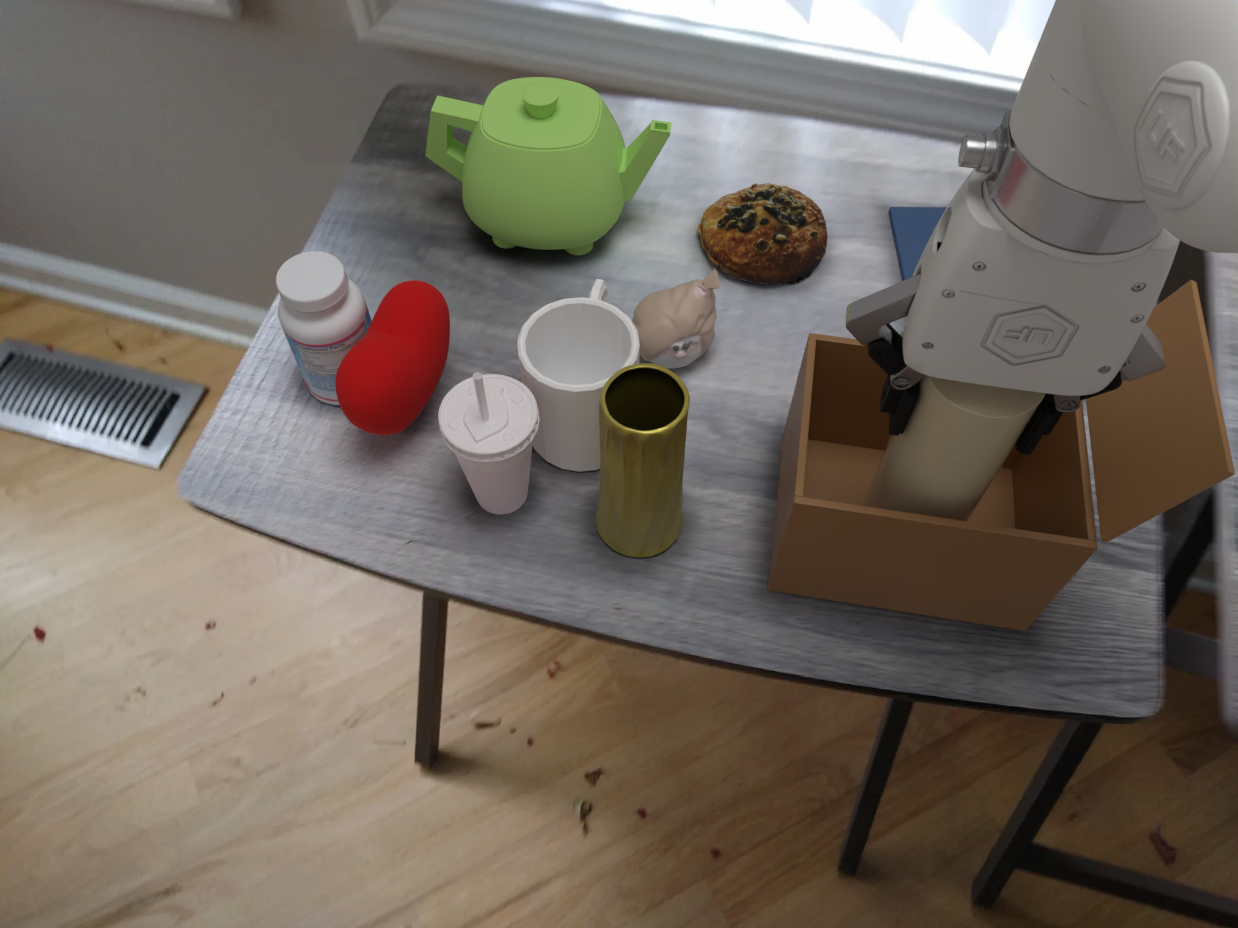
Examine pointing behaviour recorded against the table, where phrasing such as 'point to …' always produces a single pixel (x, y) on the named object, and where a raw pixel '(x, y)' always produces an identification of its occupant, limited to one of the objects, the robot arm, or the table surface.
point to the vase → (641, 459)
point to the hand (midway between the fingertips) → (958, 422)
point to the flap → (1160, 425)
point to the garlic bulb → (677, 322)
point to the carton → (912, 543)
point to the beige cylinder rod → (950, 448)
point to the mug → (574, 372)
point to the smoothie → (492, 437)
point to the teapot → (542, 162)
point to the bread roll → (765, 234)
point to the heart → (396, 360)
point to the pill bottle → (320, 317)
